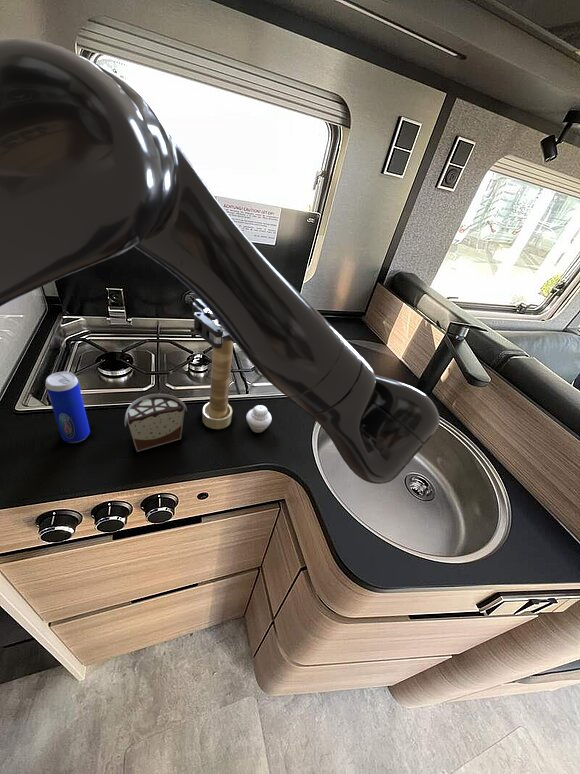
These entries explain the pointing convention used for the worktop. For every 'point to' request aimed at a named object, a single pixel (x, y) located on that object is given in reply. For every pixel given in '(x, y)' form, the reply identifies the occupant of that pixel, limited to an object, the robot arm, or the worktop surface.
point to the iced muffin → (155, 420)
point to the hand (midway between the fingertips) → (221, 301)
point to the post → (220, 379)
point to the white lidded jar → (258, 418)
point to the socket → (214, 422)
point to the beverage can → (68, 406)
